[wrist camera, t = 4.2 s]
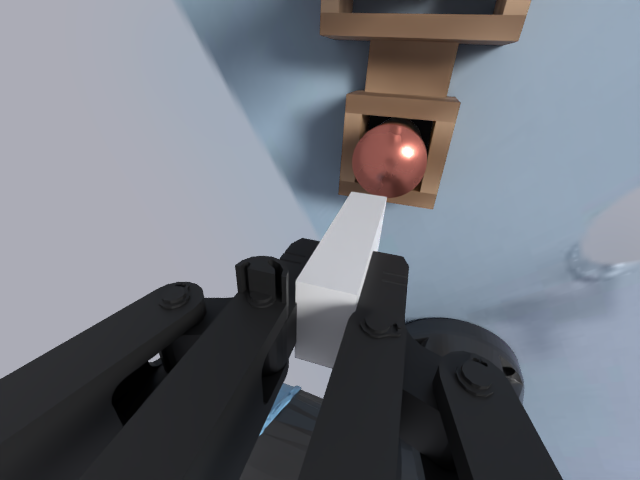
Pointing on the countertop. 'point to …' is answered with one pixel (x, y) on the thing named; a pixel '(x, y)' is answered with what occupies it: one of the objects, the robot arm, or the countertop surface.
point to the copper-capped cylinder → (390, 158)
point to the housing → (412, 76)
